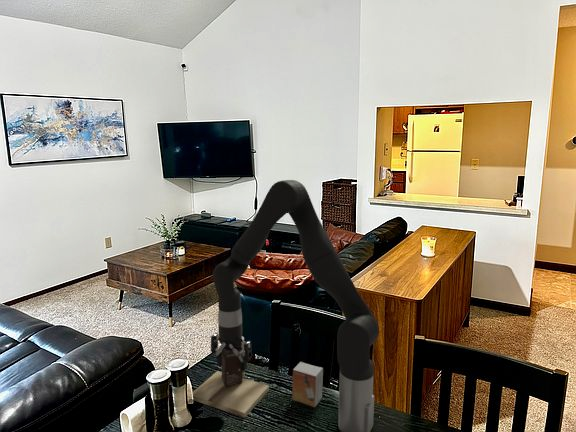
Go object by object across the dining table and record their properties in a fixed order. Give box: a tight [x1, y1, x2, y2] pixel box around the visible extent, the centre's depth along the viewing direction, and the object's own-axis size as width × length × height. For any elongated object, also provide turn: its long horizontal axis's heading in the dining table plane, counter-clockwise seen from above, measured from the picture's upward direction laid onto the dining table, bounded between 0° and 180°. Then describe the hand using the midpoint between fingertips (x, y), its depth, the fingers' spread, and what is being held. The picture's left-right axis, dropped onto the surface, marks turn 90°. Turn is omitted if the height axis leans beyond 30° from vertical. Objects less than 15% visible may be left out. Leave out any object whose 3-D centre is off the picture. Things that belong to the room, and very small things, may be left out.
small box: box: [291, 361, 324, 408], centre depth 130 cm, size 8×6×10 cm
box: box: [221, 348, 244, 387], centre depth 136 cm, size 6×4×12 cm
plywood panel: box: [192, 370, 270, 418], centre depth 133 cm, size 20×15×2 cm
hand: (231, 367), depth 136 cm, fingers open, 8 cm apart
